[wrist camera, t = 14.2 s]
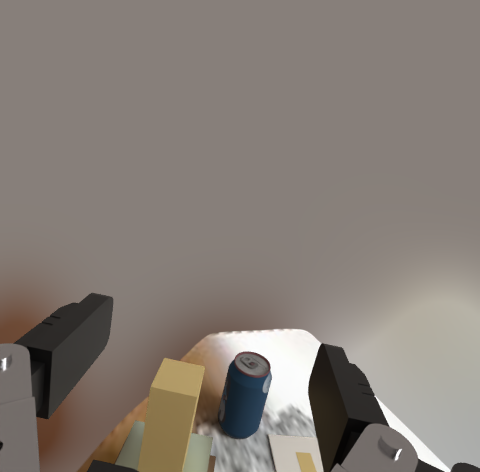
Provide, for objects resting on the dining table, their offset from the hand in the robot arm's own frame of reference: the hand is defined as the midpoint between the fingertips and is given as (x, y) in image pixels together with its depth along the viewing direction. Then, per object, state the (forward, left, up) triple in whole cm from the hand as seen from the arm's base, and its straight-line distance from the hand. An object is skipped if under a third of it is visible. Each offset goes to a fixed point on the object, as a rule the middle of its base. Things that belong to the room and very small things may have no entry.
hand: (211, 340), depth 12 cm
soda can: (-6, -33, -36) cm, 49 cm away
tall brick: (+3, -17, -28) cm, 33 cm away
